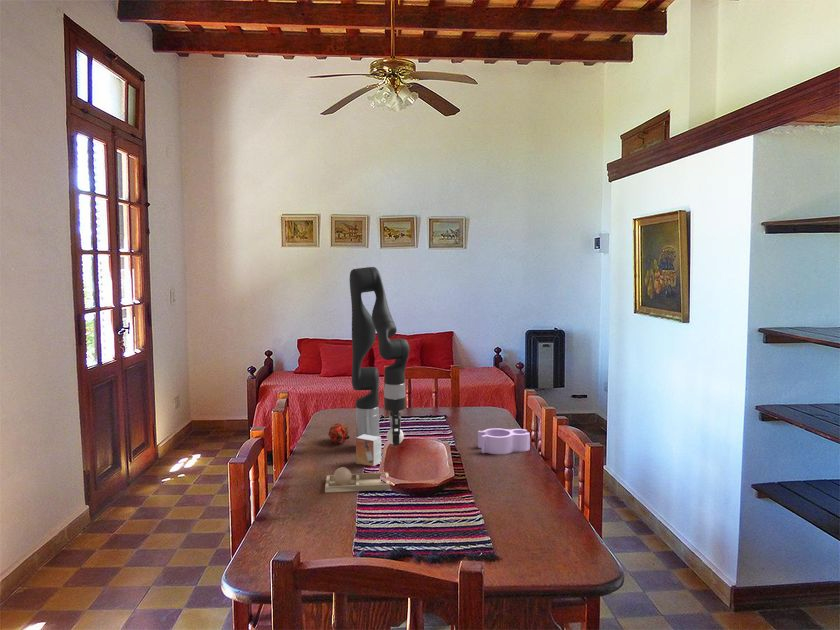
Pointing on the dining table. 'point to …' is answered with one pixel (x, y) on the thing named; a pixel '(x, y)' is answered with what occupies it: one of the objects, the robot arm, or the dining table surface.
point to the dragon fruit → (338, 433)
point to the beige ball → (342, 476)
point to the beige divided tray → (358, 483)
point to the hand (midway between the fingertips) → (395, 441)
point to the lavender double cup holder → (503, 440)
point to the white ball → (390, 436)
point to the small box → (368, 450)
